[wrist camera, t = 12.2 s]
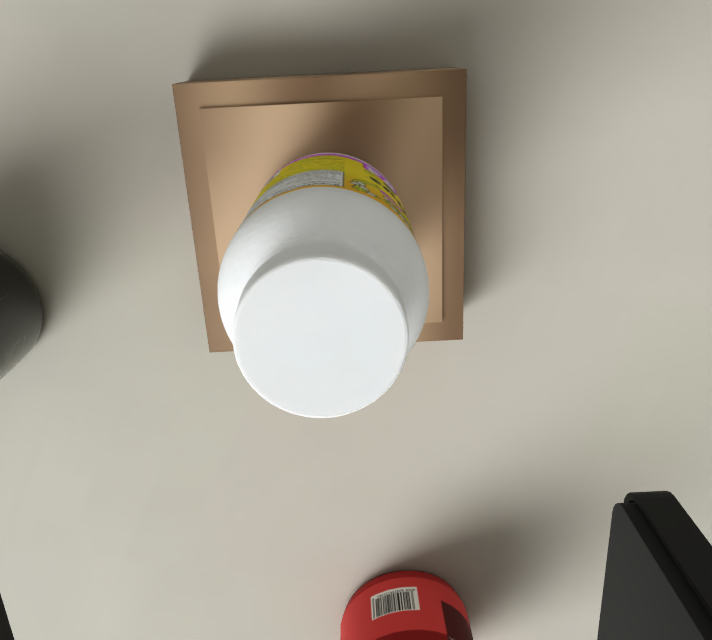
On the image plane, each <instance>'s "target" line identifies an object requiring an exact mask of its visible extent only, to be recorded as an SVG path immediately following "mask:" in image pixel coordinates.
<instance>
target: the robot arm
mask: <svg viewBox="0 0 712 640" xmlns="http://www.w3.org/2000/svg"><path fill="white" fill-rule="evenodd" d="M0 640H14V637H13V634H12V631H11V627H10V624H9V621H8V617H7V614H6V611H5V608H4V604H3V601H2V598H1V594H0ZM597 640H712V546H711V544H710V543H709V542H708V540H707V539H706V538H705V536H704V535H703V534H702V532H701V531H700V530H699V528H698V527H697V526H696V524H695V523H694V522H693V520H692V519H691V518H690V516H689V515H688V514H687V512H686V511H685V510H684V508H683V507H682V506H681V504H680V503H679V502H678V500H677V499H676V498H675V496H674V495H673V494H672V493H671V492H668V491H653V492H632V493H628V494H627V495H626V497H625V499H624V503H617V504H615V506H614V507H613V512H612V520H611V529H610V537H609V546H608V554H607V562H606V571H605V579H604V587H603V596H602V604H601V613H600V621H599V629H598V639H597Z"/></svg>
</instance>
